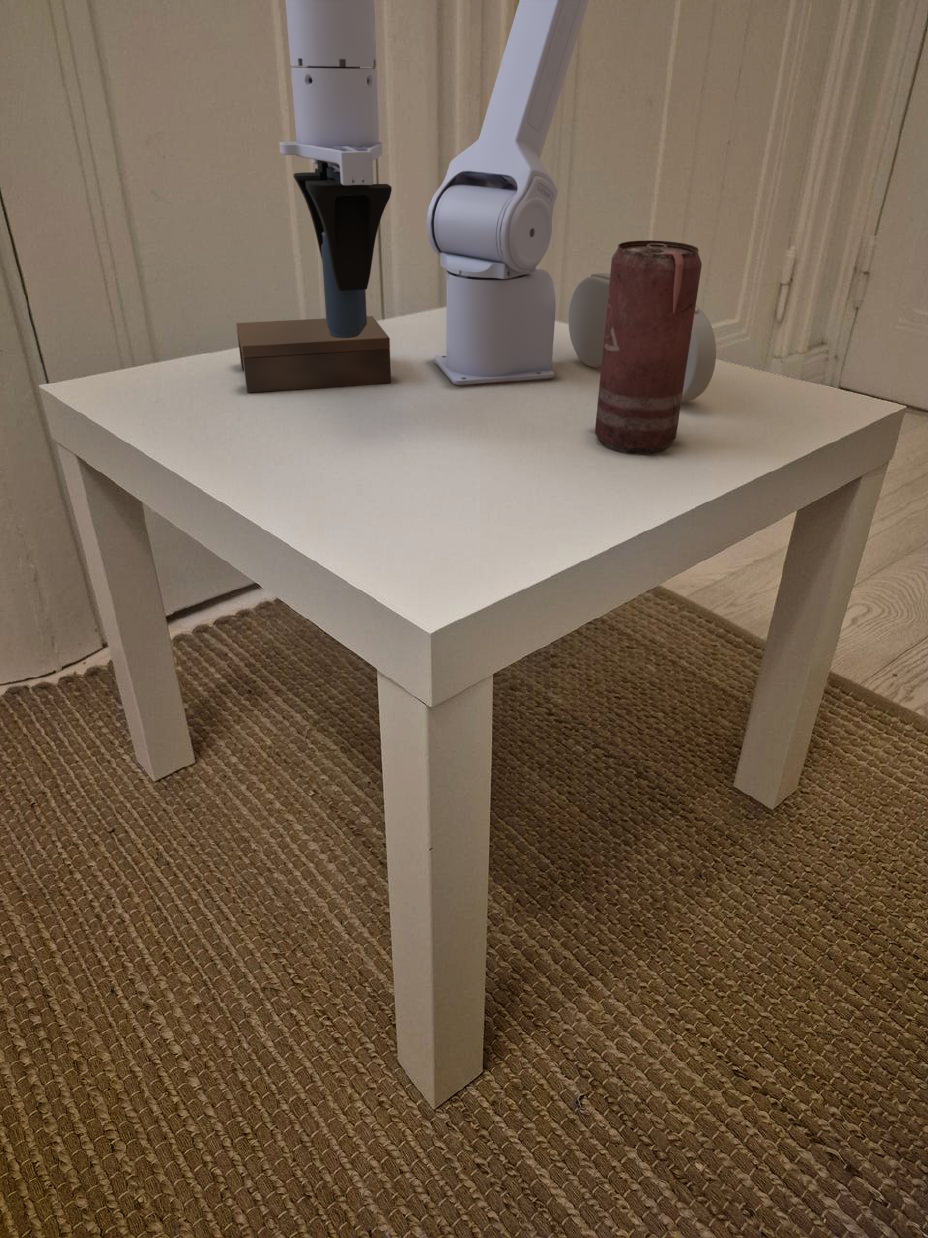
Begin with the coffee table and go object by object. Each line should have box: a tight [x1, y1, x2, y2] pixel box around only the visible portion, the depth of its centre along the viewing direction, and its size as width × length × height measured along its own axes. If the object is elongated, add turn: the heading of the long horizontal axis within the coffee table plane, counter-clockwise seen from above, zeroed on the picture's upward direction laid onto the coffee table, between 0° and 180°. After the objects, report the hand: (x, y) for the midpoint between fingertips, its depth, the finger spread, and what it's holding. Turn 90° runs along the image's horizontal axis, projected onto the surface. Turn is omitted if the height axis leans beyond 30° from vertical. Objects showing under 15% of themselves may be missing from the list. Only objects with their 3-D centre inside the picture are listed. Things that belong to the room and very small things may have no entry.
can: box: [594, 239, 703, 455], centre depth 64 cm, size 6×6×14 cm
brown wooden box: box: [235, 315, 392, 394], centre depth 80 cm, size 13×8×4 cm, turn 106°
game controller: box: [568, 272, 717, 403], centre depth 79 cm, size 20×2×8 cm, turn 26°
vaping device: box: [321, 167, 367, 338], centre depth 65 cm, size 3×5×12 cm, turn 175°
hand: (345, 281), depth 67 cm, fingers closed on vaping device, 5 cm apart
